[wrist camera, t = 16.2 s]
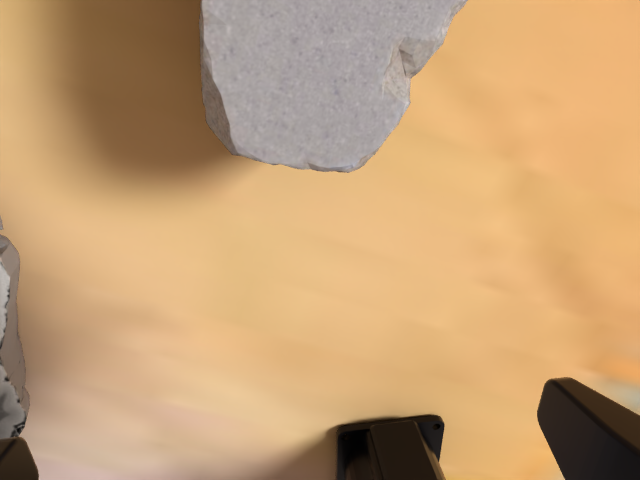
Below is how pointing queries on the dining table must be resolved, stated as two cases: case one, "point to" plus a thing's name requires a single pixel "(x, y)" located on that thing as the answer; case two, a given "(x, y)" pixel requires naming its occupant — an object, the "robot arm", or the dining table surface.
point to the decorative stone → (314, 74)
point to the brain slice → (10, 346)
